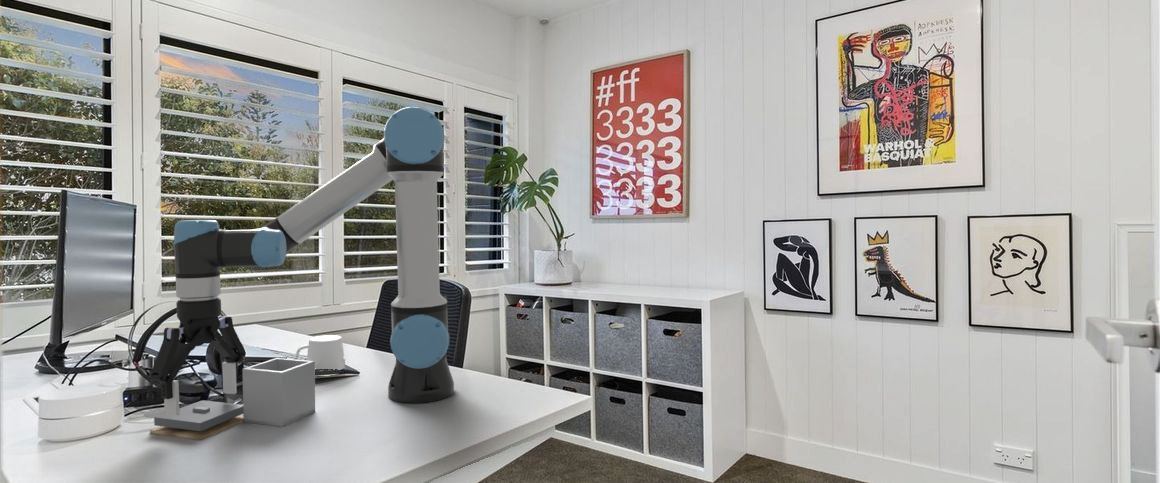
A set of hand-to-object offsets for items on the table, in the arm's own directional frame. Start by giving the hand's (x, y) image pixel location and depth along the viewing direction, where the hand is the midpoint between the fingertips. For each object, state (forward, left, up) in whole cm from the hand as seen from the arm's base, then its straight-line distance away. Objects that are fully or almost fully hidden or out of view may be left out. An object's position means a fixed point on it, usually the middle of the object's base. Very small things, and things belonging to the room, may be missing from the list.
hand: (202, 403), depth 124 cm
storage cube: (-11, -9, -4) cm, 15 cm away
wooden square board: (0, 0, -4) cm, 5 cm away
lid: (0, 0, -4) cm, 4 cm away
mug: (+3, -40, -5) cm, 40 cm away
